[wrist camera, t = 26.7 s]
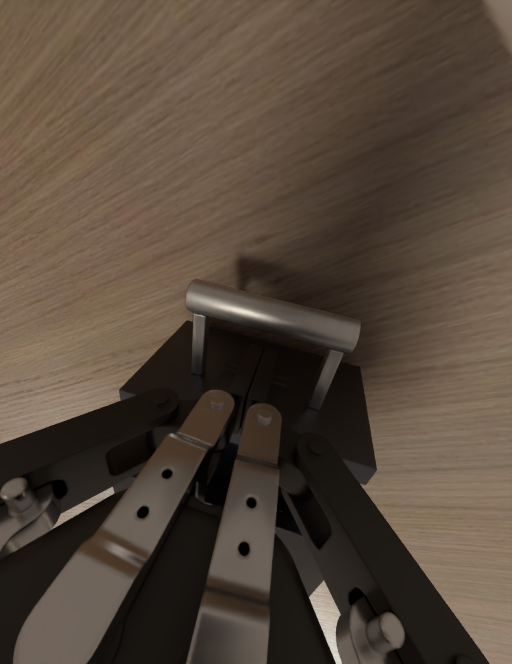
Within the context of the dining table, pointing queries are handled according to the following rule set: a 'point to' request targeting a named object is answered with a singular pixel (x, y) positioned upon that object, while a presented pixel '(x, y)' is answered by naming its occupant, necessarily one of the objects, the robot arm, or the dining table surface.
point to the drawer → (305, 369)
